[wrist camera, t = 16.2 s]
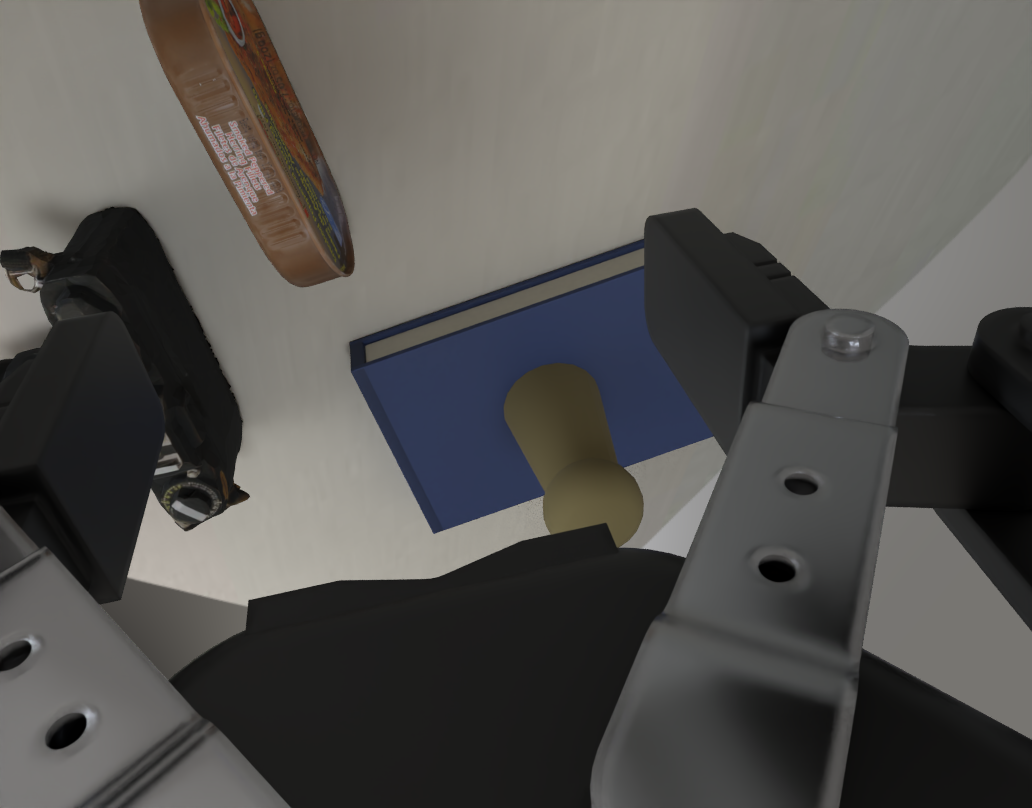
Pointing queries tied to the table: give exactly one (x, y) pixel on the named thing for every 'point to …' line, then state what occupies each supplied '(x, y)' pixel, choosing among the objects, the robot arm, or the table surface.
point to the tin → (254, 132)
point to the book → (500, 363)
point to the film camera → (147, 351)
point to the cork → (572, 451)
